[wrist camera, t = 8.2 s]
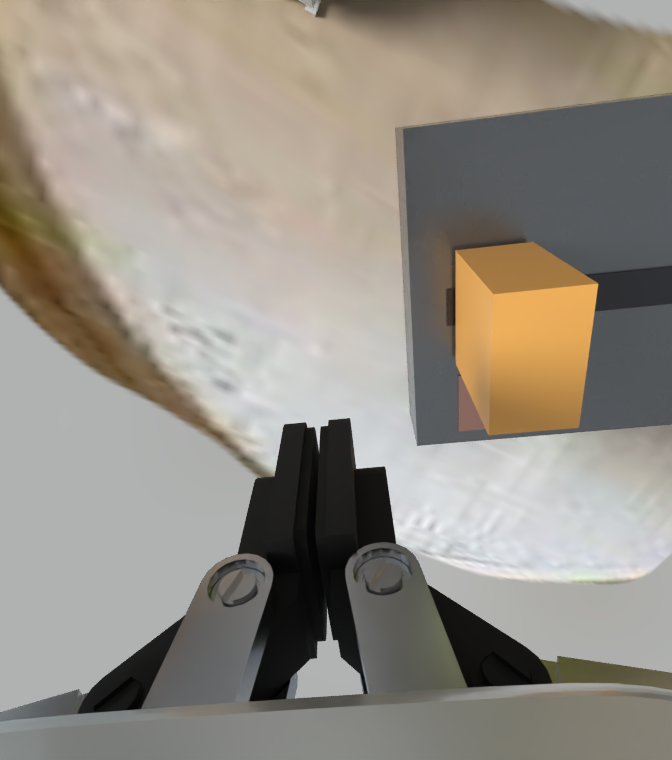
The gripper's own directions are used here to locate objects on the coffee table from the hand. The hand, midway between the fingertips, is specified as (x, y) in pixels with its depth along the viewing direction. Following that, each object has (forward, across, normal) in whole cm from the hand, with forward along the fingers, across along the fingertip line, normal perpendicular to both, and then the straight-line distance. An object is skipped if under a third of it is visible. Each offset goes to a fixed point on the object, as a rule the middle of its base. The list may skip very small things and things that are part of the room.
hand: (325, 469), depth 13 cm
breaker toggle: (+10, -7, 0) cm, 12 cm away
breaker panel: (+13, -13, 0) cm, 18 cm away
